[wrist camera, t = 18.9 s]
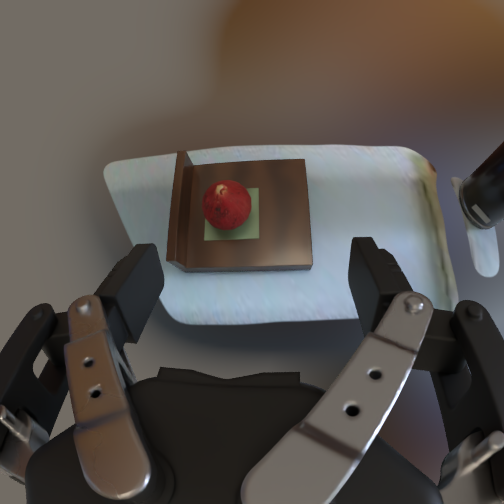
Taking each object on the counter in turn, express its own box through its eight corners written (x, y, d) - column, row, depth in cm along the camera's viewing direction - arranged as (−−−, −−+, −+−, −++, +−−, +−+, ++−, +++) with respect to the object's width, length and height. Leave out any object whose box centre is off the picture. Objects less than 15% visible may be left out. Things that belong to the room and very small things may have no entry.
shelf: (303, 169, 42) (306, 142, 35) (310, 269, 38) (316, 257, 31) (191, 175, 43) (177, 151, 37) (184, 272, 40) (165, 261, 33)
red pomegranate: (244, 244, 36) (234, 221, 29) (203, 230, 37) (183, 205, 30) (260, 203, 38) (254, 172, 30) (220, 191, 39) (206, 159, 31)
